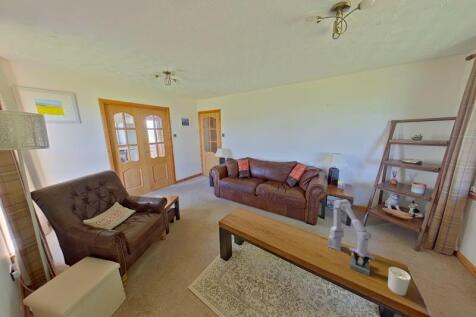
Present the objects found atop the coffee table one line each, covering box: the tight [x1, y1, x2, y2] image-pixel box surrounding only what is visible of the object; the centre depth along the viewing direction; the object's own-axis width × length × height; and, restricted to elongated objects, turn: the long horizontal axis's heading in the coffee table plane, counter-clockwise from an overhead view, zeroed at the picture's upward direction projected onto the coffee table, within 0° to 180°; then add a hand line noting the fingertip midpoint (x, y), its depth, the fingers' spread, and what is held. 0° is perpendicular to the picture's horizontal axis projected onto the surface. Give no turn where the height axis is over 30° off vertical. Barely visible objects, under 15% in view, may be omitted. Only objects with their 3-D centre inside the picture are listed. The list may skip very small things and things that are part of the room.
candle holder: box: [387, 266, 412, 297], centre depth 102 cm, size 10×10×12 cm
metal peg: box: [356, 255, 364, 268], centre depth 119 cm, size 4×4×8 cm
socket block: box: [349, 251, 371, 277], centre depth 120 cm, size 11×12×6 cm
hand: (360, 263), depth 119 cm, fingers closed on metal peg, 4 cm apart
